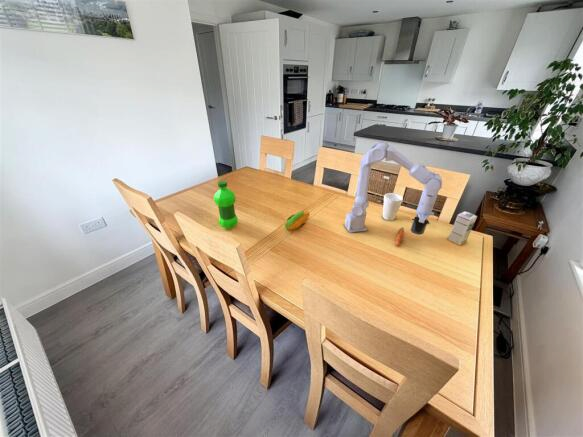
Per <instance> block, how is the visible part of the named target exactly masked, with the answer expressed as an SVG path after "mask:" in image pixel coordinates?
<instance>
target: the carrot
mask: <svg viewBox="0 0 583 437" xmlns="http://www.w3.org/2000/svg"><path fill="white" fill-rule="evenodd" d="M404 235H405V229H404V227H400V229H399V230H398V231H397V235H396V242H395V246H397V247H399V246H400V244H401V242H402V241H403V238H404Z"/></svg>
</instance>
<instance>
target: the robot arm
mask: <svg viewBox="0 0 583 437" xmlns="http://www.w3.org/2000/svg"><path fill="white" fill-rule="evenodd" d="M383 160H384V161H385V162H390V161H391V162H392V161H393V162H394V163H396V164H398V165H399V166H401V167H403V168H404V169H405V170H407V171H408V172H409V173H408V174H409V176H410V177H412V178H413V179H414V180H416V181H417V182H419V183H420V184H422V185H424V188H423V190H422V192H421V196H420V198H419V201H418V205H417V208H416V209H415V213H416V216H419V217H416V216H414V217H413V219H414V220H415V232H419V233H420V232H421V230H422V229H423V227H424V226H425V225H426V226H428V225H429V224H430V223H429V222H430V220H428V218H429V217H430V216H434V215H435V212H433V209H434V206H435V203H436V201H437V198H438V195H439V191H440V190H441V189H442V187H443V179H442V177H441V175H440V174H439V173H436V172H435V171H432V170H429V169H428V168H427V166H426V164H424V163H423V164H421V163H414V162H413V161H411V160H410V159H409V158H408V157H407V156H405V155H404V154H403V153H401V152H400V151H399V150H397V149H396V148H395V147H394V146H393V145H390V144H389V143H388V142H385V141H379V142H378V143H376V144H374V145H373V146H372V147H370V149H369V150H368V151H367V152H366V153H365V155H363V157H362V158H361V159H360V162H359V170H358V179H357V187H356V197H355V199H354V201H353V205H352V207H351V212H348V213H346V214H345V220H344V224H343V225H344V226H345V228H346V229H347V231H348V232H349V233H356V232H357V233H358V232H367V228H366V226H365V223H366V218H367V208H369V203H370V202H369V199H368V191H369V184H370V178H371V169H372V165H373V164H375V163H379V162H382V161H383ZM425 219H427V220H425ZM414 220H413V221H414ZM428 223H429V224H428Z"/></svg>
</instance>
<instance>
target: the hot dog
mask: <svg viewBox="0 0 583 437" xmlns="http://www.w3.org/2000/svg"><path fill="white" fill-rule="evenodd" d="M309 217H310V212H309V211H307V210H305V211H304V210H303V211H299V212H297V213H295V214H292V215H290V216H289V217H287V218H286V220H285V223H284V227H285V229H286V231H289V232H294V231H295V232H296V231H298V230H299V229H300V228H301V227H303V226H304V225H305V224H306V221H307V220H308V218H309Z"/></svg>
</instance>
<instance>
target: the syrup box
mask: <svg viewBox="0 0 583 437" xmlns="http://www.w3.org/2000/svg"><path fill="white" fill-rule="evenodd" d="M477 218H478V215H476V214H474V213H472V212H469V211H463V212H460V213H458V214H457V215H456V219H455V221H454V223H453V226H452V228H451V231H450V233H449V235H448V238H447V240H448V241H449V242H452V243H454V244H456V245H459V246H461V245H462V244H464V243H466V242H467V240H468V238H469V236H470V233H471V232H472V229H473V227H474V225H475V223H476V220H477Z"/></svg>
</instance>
